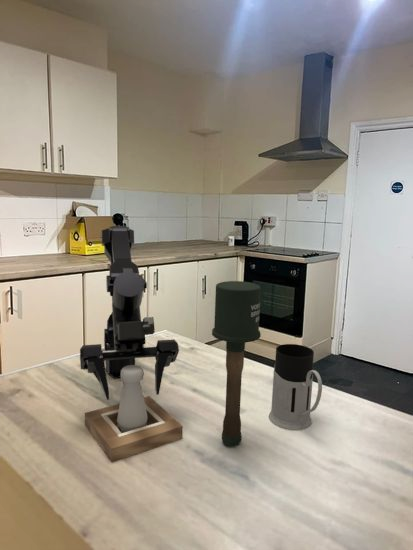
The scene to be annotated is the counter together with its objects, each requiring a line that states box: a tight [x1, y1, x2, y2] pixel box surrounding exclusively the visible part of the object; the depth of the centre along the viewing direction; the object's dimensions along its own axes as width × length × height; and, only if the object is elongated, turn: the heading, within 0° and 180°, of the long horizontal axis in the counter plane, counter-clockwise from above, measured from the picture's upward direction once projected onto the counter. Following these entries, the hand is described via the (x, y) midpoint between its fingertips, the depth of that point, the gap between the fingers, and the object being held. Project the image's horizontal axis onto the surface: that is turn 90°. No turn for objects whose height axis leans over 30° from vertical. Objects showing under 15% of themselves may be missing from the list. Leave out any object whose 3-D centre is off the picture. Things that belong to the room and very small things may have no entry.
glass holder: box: [268, 343, 323, 431], centre depth 84 cm, size 9×14×15 cm, turn 18°
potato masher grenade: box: [211, 280, 262, 448], centre depth 76 cm, size 8×9×30 cm
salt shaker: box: [117, 364, 148, 433], centre depth 80 cm, size 6×6×13 cm
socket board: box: [84, 395, 184, 463], centre depth 81 cm, size 14×14×3 cm
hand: (133, 396), depth 79 cm, fingers open, 9 cm apart
